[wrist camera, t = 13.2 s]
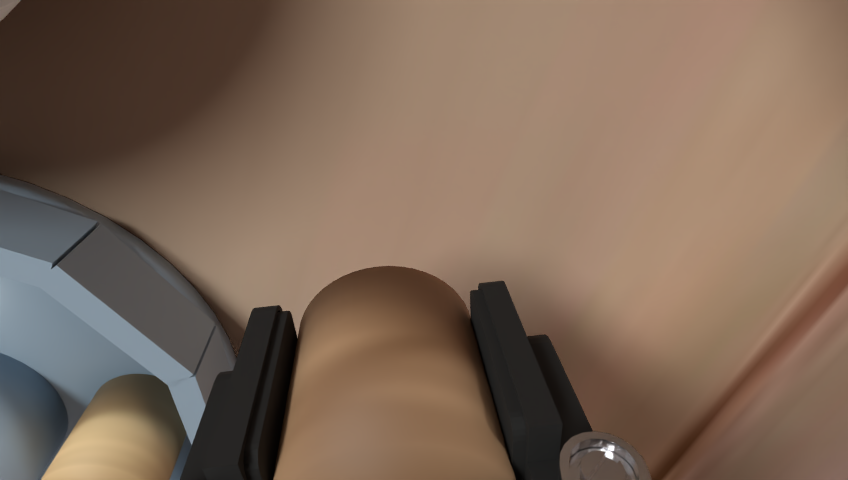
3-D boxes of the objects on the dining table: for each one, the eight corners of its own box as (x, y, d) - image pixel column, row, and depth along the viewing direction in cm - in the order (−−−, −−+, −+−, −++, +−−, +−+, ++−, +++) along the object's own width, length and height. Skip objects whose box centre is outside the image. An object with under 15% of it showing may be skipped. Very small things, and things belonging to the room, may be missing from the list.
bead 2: (471, 257, 11) (528, 427, 7) (472, 389, 13) (519, 579, 9) (282, 276, 11) (234, 463, 7) (314, 408, 13) (292, 611, 9)
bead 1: (85, 373, 21) (19, 466, 17) (189, 374, 21) (150, 464, 17) (101, 443, 22) (46, 543, 18) (197, 442, 23) (163, 538, 19)
